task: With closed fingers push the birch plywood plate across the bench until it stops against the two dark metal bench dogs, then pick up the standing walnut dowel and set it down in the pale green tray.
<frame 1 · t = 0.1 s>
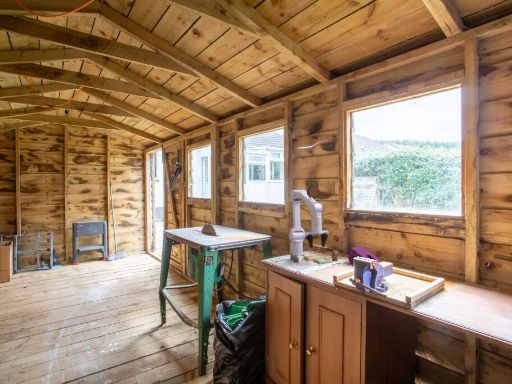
hand: (317, 247, 172), 10 cm above the table, tool pointing down, fingers open, 7 cm apart
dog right: (296, 261, 179), on the table
plate: (312, 259, 185), on the table
tray: (323, 261, 178), on the table
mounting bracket: (366, 266, 168), on the table
dowel: (334, 260, 180), on the table
dog left: (292, 259, 184), on the table
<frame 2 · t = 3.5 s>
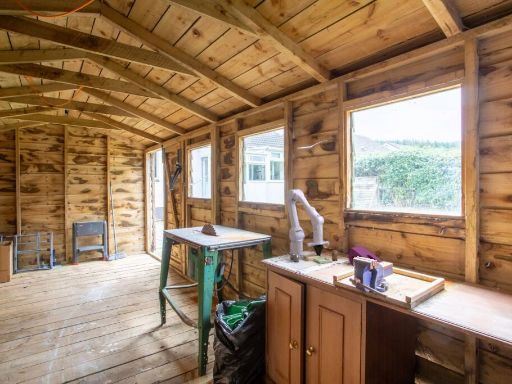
hand: (318, 256, 186), 1 cm above the table, tool pointing down, fingers closed
plate: (311, 259, 185), on the table, touching gripper
everything else where it was.
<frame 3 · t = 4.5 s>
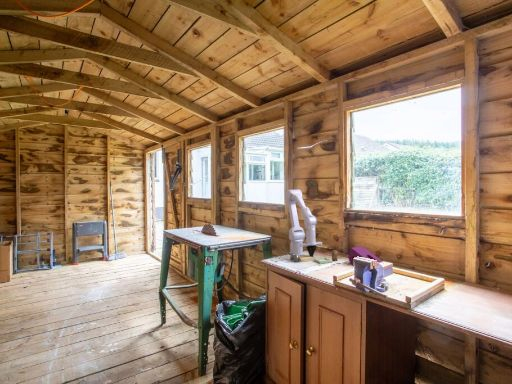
hand: (311, 257, 185), 1 cm above the table, tool pointing down, fingers closed
plate: (304, 260, 183), on the table, touching gripper
everything else where it was.
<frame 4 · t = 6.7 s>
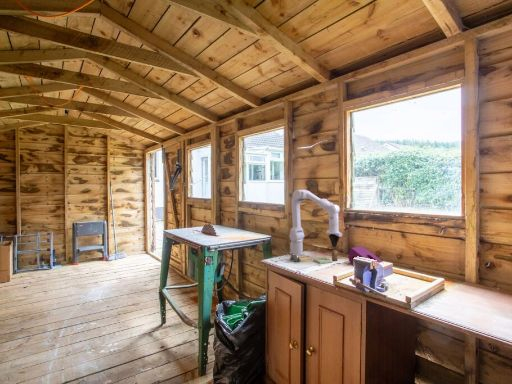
hand: (334, 246, 180), 8 cm above the table, tool pointing down, fingers closed
plate: (303, 260, 183), on the table
everything else where it was.
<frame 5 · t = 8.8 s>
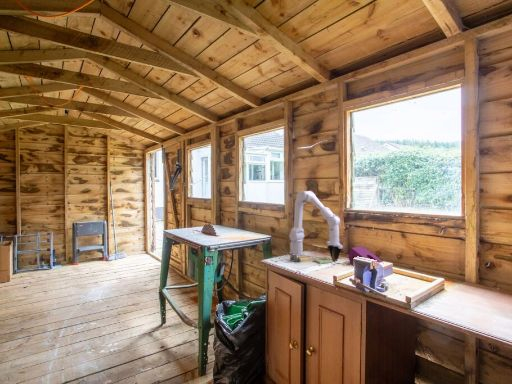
hand: (334, 258, 180), 1 cm above the table, tool pointing down, fingers closed on dowel, 3 cm apart
dowel: (334, 260, 180), on the table, touching gripper
everything else where it was.
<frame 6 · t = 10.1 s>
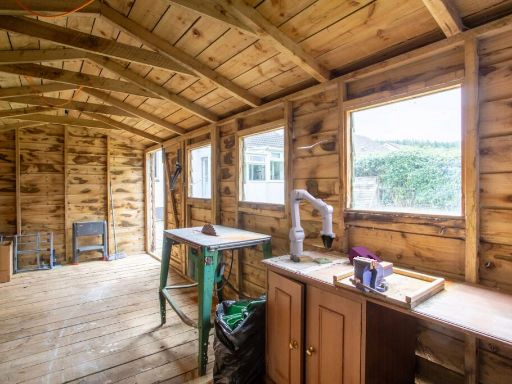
hand: (327, 247, 179), 8 cm above the table, tool pointing down, fingers closed on dowel, 3 cm apart
dowel: (327, 249, 179), point 7 cm above the table, touching gripper
everything else where it was.
when the fingers open (3 cm above the table, at t = 11.6 s): dowel drops 1 cm, resting on tray.
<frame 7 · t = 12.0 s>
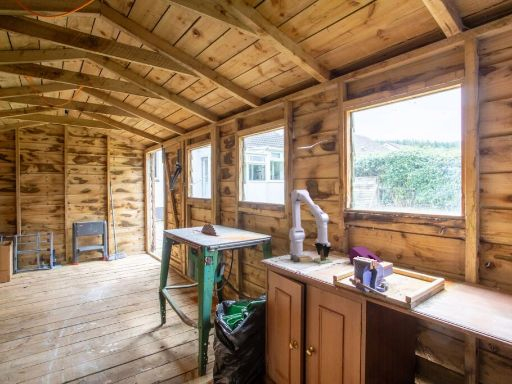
hand: (323, 256, 178), 3 cm above the table, tool pointing down, fingers open, 7 cm apart
dowel: (323, 260, 178), resting on tray
everything else where it was.
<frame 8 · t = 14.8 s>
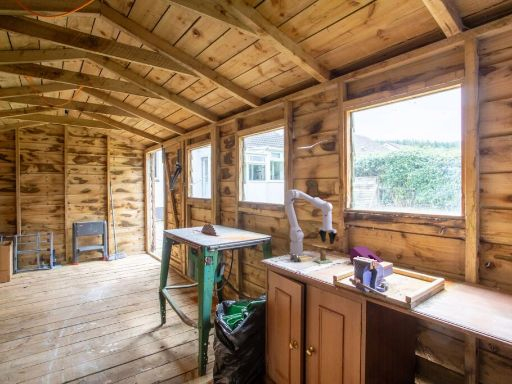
hand: (327, 243, 187), 9 cm above the table, tool pointing down, fingers open, 7 cm apart
nothing on the table moved.
at the end: plate 0.2 cm from the target spot, on the table; dowel 0.0 cm off-centre on the tray, point 0.5 cm above the tray's base; the gripper is holding nothing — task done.
